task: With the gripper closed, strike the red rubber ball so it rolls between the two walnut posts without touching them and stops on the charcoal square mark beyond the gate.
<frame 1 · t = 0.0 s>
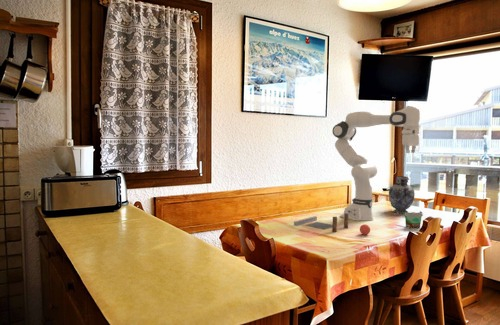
hand: (410, 152, 242), 48 cm above the table, tool pointing down, fingers open, 8 cm apart
food container: (415, 228, 242), on the table
post 2: (346, 227, 237), on the table
decorative vase: (400, 212, 292), on the table
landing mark: (320, 225, 241), on the table
post 1: (334, 231, 227), on the table
ball: (364, 229, 221), on the table
stopper wall: (305, 222, 249), on the table
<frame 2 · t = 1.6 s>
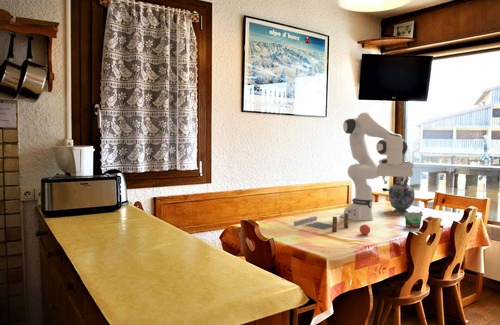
hand: (394, 184, 223), 30 cm above the table, tool pointing down, fingers open, 8 cm apart
nothing on the table moved.
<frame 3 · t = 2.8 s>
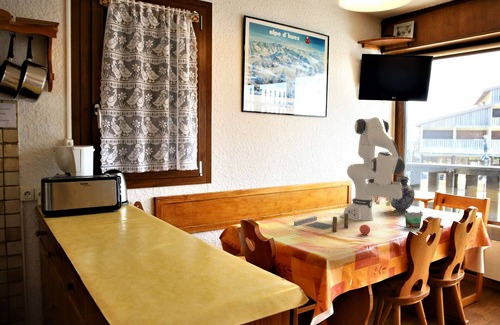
hand: (382, 204, 213), 19 cm above the table, tool pointing down, fingers open, 5 cm apart
nothing on the table moved.
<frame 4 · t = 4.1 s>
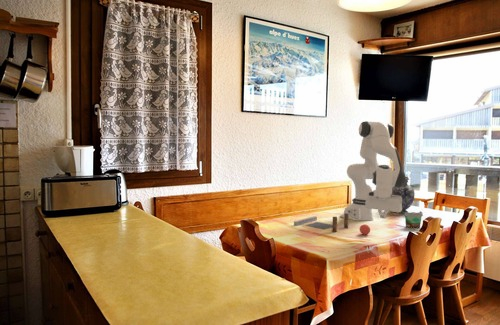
hand: (382, 217, 214), 12 cm above the table, tool pointing down, fingers closed
nothing on the table moved.
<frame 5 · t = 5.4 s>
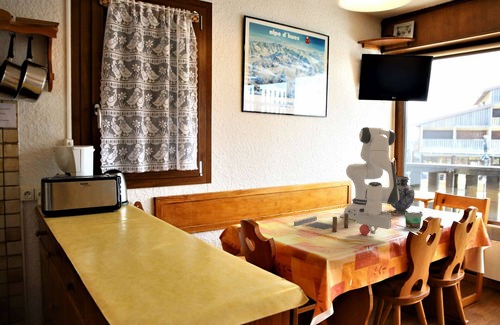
hand: (372, 233, 219), 1 cm above the table, tool pointing down, fingers closed
ball: (364, 229, 221), on the table, touching gripper
everything else where it was.
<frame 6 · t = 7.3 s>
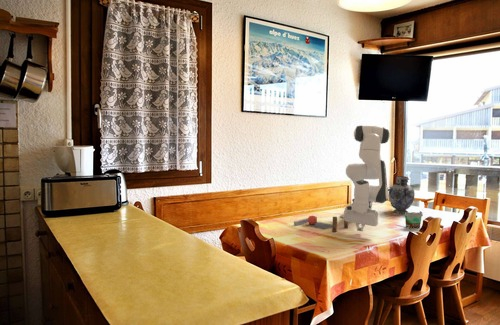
hand: (360, 231, 223), 2 cm above the table, tool pointing down, fingers closed
ball: (312, 220, 244), on the table
everything else where it was.
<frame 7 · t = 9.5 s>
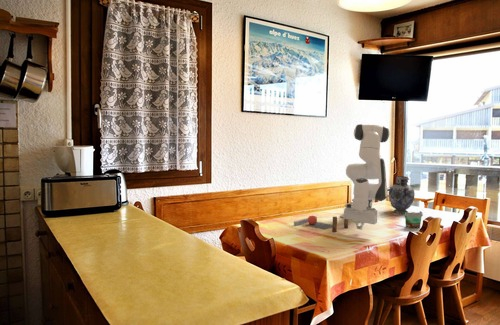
hand: (359, 228, 224), 3 cm above the table, tool pointing down, fingers closed
nothing on the table moved.
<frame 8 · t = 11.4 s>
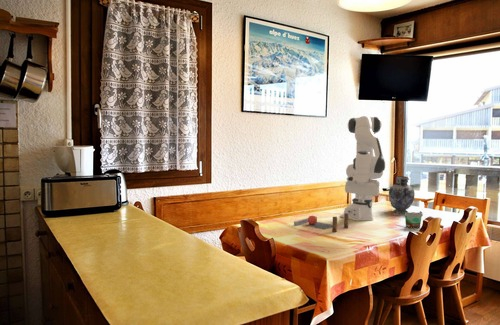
hand: (361, 201, 222), 19 cm above the table, tool pointing down, fingers closed
nothing on the table moved.
at the end: ball 5.6 cm from the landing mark (horizontally); ball never touched post 2; ball never touched post 1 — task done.
